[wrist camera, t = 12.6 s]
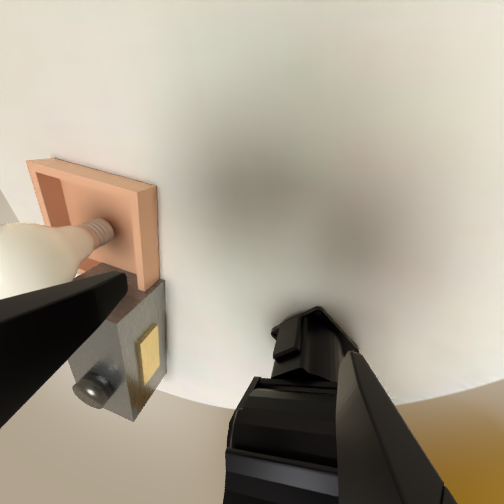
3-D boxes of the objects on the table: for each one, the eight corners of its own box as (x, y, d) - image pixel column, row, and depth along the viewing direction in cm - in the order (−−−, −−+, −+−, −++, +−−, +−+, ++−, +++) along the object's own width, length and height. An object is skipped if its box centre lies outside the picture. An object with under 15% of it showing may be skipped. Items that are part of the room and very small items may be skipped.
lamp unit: (105, 260, 27) (24, 306, 20) (167, 281, 26) (105, 339, 19) (121, 354, 36) (70, 410, 29) (168, 373, 35) (127, 437, 28)
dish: (156, 186, 21) (137, 191, 19) (159, 284, 27) (145, 297, 24) (53, 158, 23) (25, 160, 20) (77, 256, 28) (57, 266, 26)
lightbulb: (90, 246, 26) (-41, 309, 17) (76, 192, 23) (-93, 232, 14) (137, 260, 25) (26, 336, 16) (130, 205, 22) (-15, 259, 13)
